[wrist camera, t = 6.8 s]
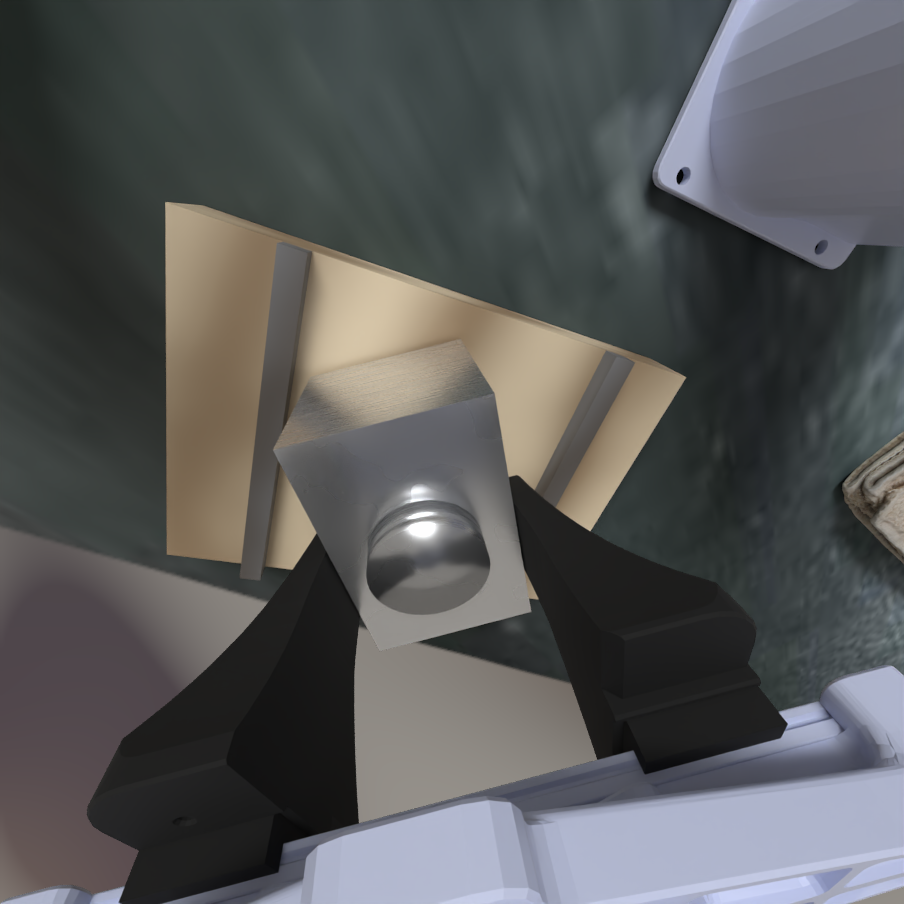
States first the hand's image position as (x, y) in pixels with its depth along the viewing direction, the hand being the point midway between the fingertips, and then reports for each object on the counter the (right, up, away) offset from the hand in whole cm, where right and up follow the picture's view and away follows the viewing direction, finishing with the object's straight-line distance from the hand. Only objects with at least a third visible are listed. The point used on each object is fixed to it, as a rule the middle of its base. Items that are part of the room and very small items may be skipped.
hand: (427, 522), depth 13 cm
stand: (-1, +3, +5) cm, 6 cm away
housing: (-1, +2, +2) cm, 3 cm away
